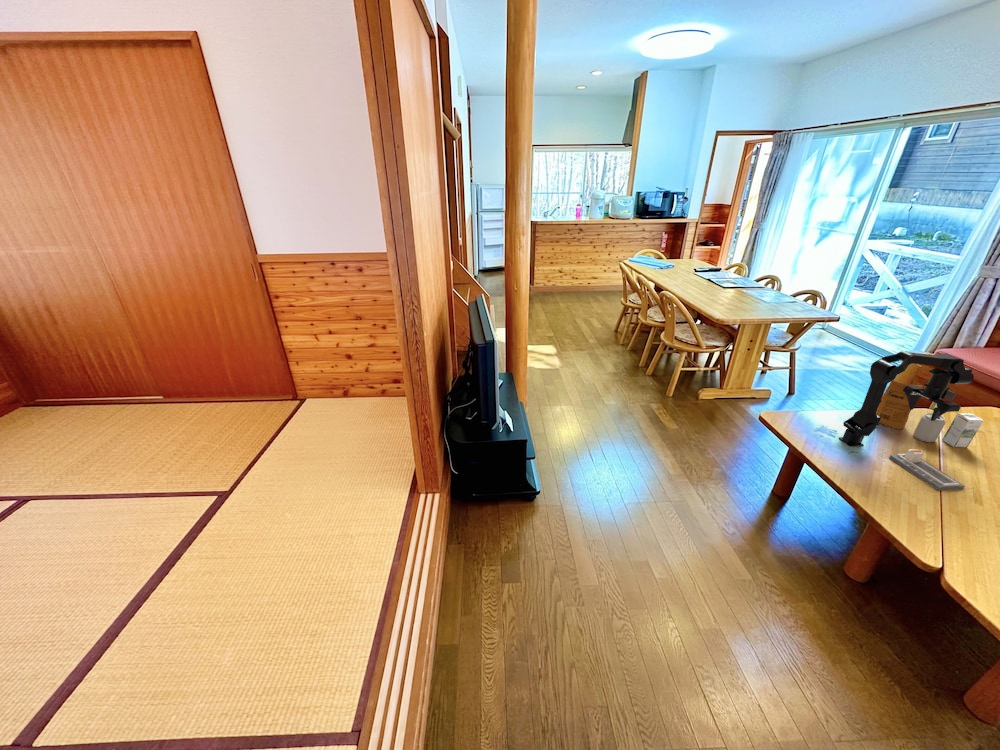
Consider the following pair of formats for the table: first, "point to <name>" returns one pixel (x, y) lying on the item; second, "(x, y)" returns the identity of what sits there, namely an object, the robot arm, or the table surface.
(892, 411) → the coffee package
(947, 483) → the fader console
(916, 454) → the fader knob
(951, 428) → the syrup box
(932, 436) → the can
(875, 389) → the robot arm
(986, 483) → the table surface
